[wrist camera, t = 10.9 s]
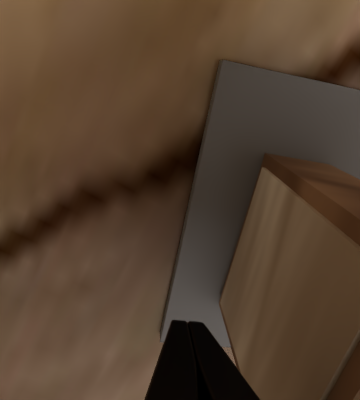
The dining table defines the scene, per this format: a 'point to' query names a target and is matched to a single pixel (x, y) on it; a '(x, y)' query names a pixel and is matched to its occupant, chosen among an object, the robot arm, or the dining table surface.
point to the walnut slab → (297, 284)
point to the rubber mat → (250, 171)
